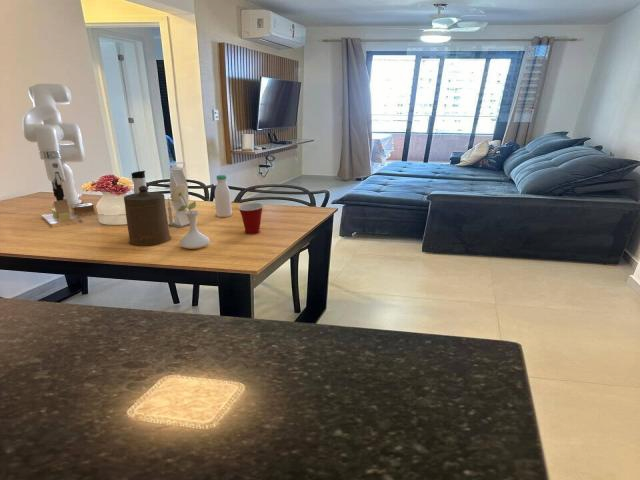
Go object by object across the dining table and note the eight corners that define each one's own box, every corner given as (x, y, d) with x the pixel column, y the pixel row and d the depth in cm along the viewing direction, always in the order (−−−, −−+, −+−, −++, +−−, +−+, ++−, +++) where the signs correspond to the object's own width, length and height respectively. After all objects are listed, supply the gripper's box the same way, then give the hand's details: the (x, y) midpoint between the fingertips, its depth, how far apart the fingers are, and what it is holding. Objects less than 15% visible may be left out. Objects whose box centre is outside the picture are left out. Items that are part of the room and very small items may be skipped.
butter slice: (59, 220, 173) (57, 214, 172) (69, 218, 176) (68, 212, 175) (60, 221, 171) (59, 215, 170) (70, 219, 174) (69, 213, 173)
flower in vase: (200, 239, 156) (194, 178, 147) (216, 246, 149) (211, 182, 140) (170, 247, 146) (162, 183, 138) (185, 255, 139) (178, 187, 131)
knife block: (72, 215, 186) (70, 205, 184) (92, 212, 192) (90, 203, 190) (75, 217, 183) (73, 207, 181) (95, 214, 189) (93, 204, 187)
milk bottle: (233, 216, 189) (230, 176, 182) (217, 218, 186) (214, 177, 180) (230, 212, 196) (228, 174, 189) (215, 214, 193) (212, 174, 186)
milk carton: (183, 221, 180) (177, 161, 171) (195, 223, 177) (189, 162, 167) (168, 225, 174) (161, 163, 164) (180, 228, 170) (173, 164, 161)
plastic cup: (237, 229, 169) (235, 203, 165) (261, 227, 173) (260, 201, 169) (241, 237, 160) (240, 209, 156) (267, 234, 163) (266, 207, 159)
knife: (57, 218, 172) (50, 185, 167) (56, 217, 173) (49, 185, 168) (70, 216, 175) (63, 184, 170) (69, 215, 176) (62, 183, 171)
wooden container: (161, 232, 164) (155, 181, 157) (175, 240, 154) (169, 186, 147) (125, 238, 155) (116, 185, 148) (136, 248, 144) (128, 191, 137)
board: (41, 218, 181) (41, 215, 181) (70, 213, 189) (70, 210, 189) (51, 227, 168) (50, 224, 168) (82, 222, 176) (81, 219, 176)
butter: (52, 214, 181) (51, 208, 180) (62, 213, 184) (61, 207, 183) (56, 217, 177) (55, 211, 176) (66, 216, 179) (65, 210, 178)
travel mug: (146, 210, 197) (141, 172, 191) (134, 210, 197) (128, 171, 191) (152, 207, 203) (147, 170, 196) (139, 207, 203) (134, 169, 197)
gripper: (65, 156, 162) (73, 198, 168) (56, 153, 173) (64, 193, 179) (44, 157, 157) (53, 201, 163) (36, 154, 168) (45, 195, 174)
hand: (59, 196), depth 171 cm, fingers closed on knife, 1 cm apart
